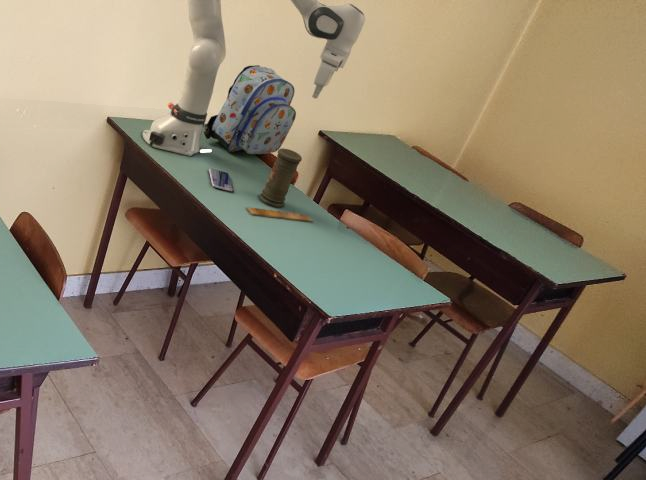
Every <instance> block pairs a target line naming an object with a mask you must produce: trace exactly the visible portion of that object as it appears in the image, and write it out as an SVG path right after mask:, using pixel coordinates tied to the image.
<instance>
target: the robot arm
mask: <svg viewBox="0 0 646 480" xmlns="http://www.w3.org/2000/svg"><path fill="white" fill-rule="evenodd" d="M290 1H291V3H292V4H293V5H294V7H295V8H296V9H297V11H298V12H299V13H300V15H301V17H302V20H303V23H304V24H303V25H304V28H305V30H306V33H308V35H309V36H311V37H314V38H316V39H323V40H326V43H325V46H324V47H323V50H322V51H321V54H320V56H319V59H320V60H321V61H320V64H319V67H318V69H317V72H316V75H315V77H314V81H313V84H314V85H315V88H314V91H313V93H312V96H311V97H312V98H313V99H318V98H319V96H320V94H321V92H322V91H323V89H324V88H325V87H326V86H328V85H329V84H330V83H331V80H332V79H333V76H334V75H335V72H338V71H339V69H340V68H341V69H343V68H344V67H345V65H346V63H347V61H348V59H349V57H350V55H351V53H352V52H351V51H352V48H353V46H354V45H355V43H356V42H357V40H358V39H359V36H360V35H361V32H362V30H363V27H364V24H365V20H366V17H365V14H364V12H363V11H362V10H361V9H359V8H358V7H357V6H355V5H354V4H352V3H347V4H342V5H327V4H324V3H321V2H319V0H290ZM187 11H188V20H189V23H190V28H191V32H192V36H193V45H192V46H191V47H190V50H189V53H188V58H187V62H186V66H185V71H184V79H183V83H182V88H181V91H180V95H179V99H178V102H176V103H175V104H173V102H172V101H170V102H168V104H167V107H168V109H169V110H170V113H167V114H165V115H162V116H161V117H159V118H158V117H157V118H156V119H154V120H153V121H152V123H151V125H150V127H149V129H144V130H143V131H142V133H141V134H142V135H141V136H142V138H143V139H144V141H145V142H146V143H147V144H148V145H149V146H151V147H153V148H155V149H160V150H162V151H163V150H164V151H168V152H172V153H177V154H181V155H183V156H184V155H185V156H193V154H198V153H199V152H200V153H211V152H212V149H201V146H200V145H201V137H202V131H203V128H204V127H205V124H206V120H207V118H208V109H209V107H210V103H211V100H212V96H213V93H214V89H215V88H214V87H215V83H216V78H217V74H218V71H219V68H220V66H221V65H222V63H223V62H224V61H225V59H226V54H227V48H226V38H225V32H224V31H225V30H224V23H223V16H222V4H221V0H187Z"/></svg>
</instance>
